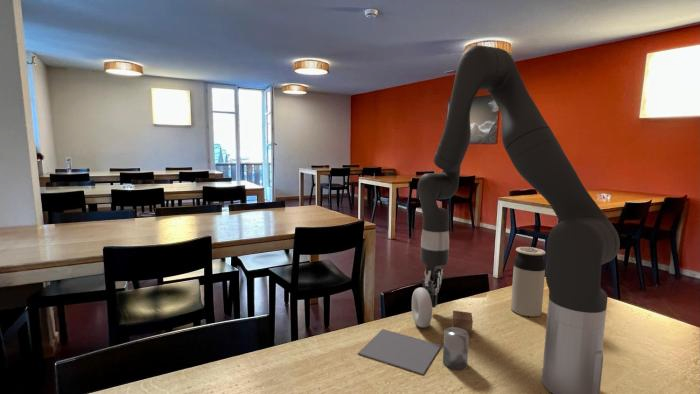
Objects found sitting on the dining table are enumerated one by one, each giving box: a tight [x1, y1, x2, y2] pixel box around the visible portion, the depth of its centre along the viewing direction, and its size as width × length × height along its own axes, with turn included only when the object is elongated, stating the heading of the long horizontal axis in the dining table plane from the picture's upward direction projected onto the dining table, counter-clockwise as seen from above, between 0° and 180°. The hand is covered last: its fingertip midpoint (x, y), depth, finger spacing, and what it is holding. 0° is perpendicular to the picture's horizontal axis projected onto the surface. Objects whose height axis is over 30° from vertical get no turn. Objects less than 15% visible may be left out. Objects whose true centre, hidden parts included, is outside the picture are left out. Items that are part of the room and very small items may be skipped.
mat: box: [357, 328, 442, 376], centre depth 84 cm, size 15×13×1 cm
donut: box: [411, 286, 433, 328], centre depth 95 cm, size 10×4×10 cm, turn 5°
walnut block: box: [451, 310, 474, 339], centre depth 92 cm, size 4×4×4 cm
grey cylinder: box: [442, 326, 470, 372], centre depth 78 cm, size 5×5×7 cm
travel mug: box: [510, 246, 547, 318], centre depth 104 cm, size 8×8×18 cm
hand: (432, 306), depth 103 cm, fingers closed
